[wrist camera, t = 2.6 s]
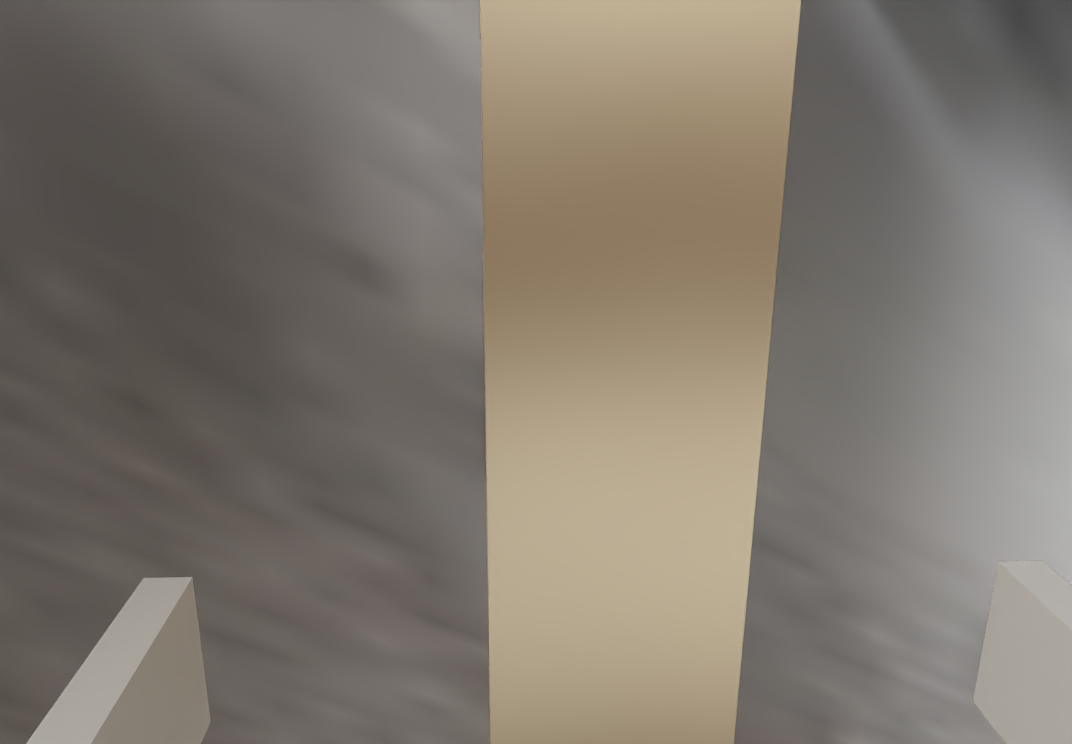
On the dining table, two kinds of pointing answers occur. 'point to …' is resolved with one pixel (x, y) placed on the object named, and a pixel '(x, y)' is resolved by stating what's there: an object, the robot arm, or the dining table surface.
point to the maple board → (626, 355)
